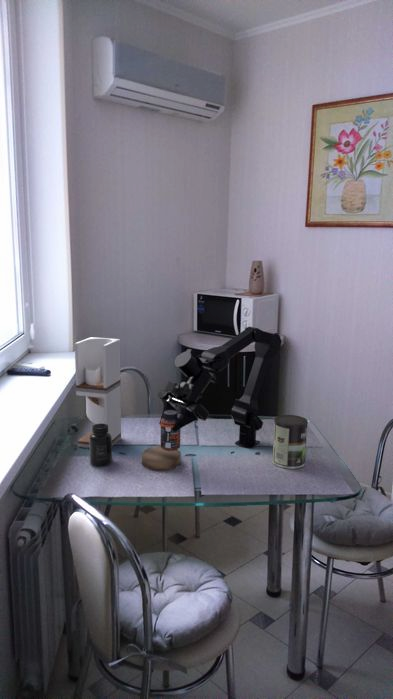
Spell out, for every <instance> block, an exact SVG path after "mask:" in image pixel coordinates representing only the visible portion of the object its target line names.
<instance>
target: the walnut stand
mask: <svg viewBox="0 0 393 699" xmlns="http://www.w3.org/2000/svg"><path fill="white" fill-rule="evenodd" d="M181 456H182V455H181V451H180V449H177V450H174V451H166V450H163V449H162V448H161V445H159V446H156V445H155V446H152V447H149V448H145V449H144V450H143V451H142V452H141V465H142V467H144V468H146V469H148V470H151V471H156V472H157V471H158V472H165V471H171V470H175V469H176V468H179V466H180V465H181V462H182V461H181V459H182V458H181Z"/></svg>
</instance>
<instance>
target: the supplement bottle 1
mask: <svg viewBox="0 0 393 699" xmlns="http://www.w3.org/2000/svg"><path fill="white" fill-rule="evenodd" d="M89 447H90V448H89V463H90V465H91V466H94V467H100V468H101V467H106V466H109V465H111V464H112V461H113V446H112V436H111V434H110V433H108V425H107V424H93V425H92V434H91V435H90V437H89Z"/></svg>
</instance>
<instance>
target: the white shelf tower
mask: <svg viewBox="0 0 393 699" xmlns="http://www.w3.org/2000/svg"><path fill="white" fill-rule="evenodd" d="M74 360H75V363H74V364H75V390H76V391H75V395H76V396H81V397H82V396H83V397H85V405H86V408H85V411H86V414H85V415H86V416H87V419H89V421H90V422H92V423H93V425H95V424H107V425H108V433H110V434H111V436H112V447H113V446H114V445H115V444H116V443H118V442H119V441H120V440H121V439H122V402H121V401H122V399H121V398H122V397H121V396H122V395H121V394H122V392H121V390H122V388H121V386H122V385H121V381H122V380H121V377H122V376H121V339H120V338H110V337H107V338H106V337H96V336H95V337H92V336H91V337H88V338H85V339H82V340H79V341H77V342H75V343H74ZM91 434H92V430H90V431H89V432H88V433H86V434H85V435H84V436H82V437H80V438H79V439H78V440H77V448H78V447H79V448H86V449H90V447H89V437H90V435H91Z"/></svg>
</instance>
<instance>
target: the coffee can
mask: <svg viewBox="0 0 393 699" xmlns="http://www.w3.org/2000/svg"><path fill="white" fill-rule="evenodd" d="M273 421H274V422H273V423H274V426H273V427H274V429H273V444H272V445H273V450H272V460H271V461H272V463H273V465H274V466H277V467H279V468H283V469H288V470H297V469H301V468H303V467H305V465H306V450H307V434H308V425H309V421H308V419H307V418H305V417H302V416H299V415H294V414H282V415H277V416H275V417H274V418H273Z"/></svg>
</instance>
